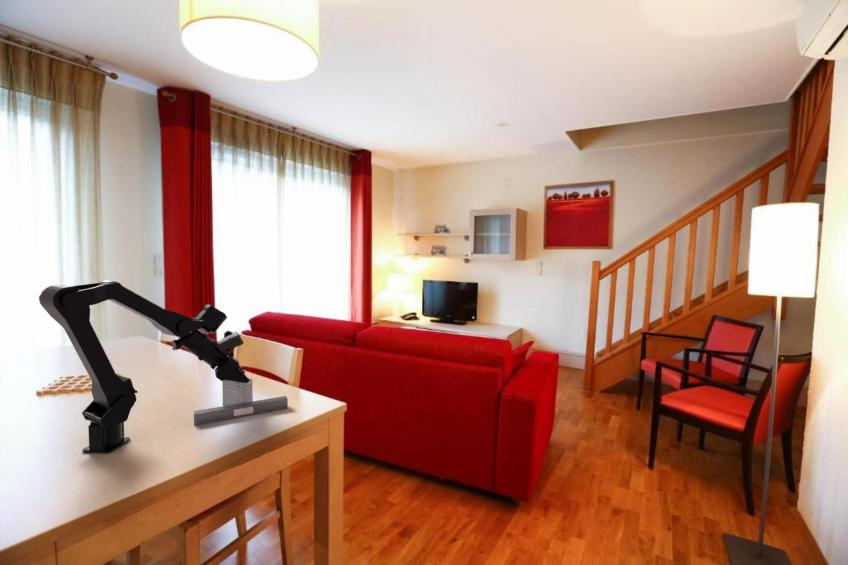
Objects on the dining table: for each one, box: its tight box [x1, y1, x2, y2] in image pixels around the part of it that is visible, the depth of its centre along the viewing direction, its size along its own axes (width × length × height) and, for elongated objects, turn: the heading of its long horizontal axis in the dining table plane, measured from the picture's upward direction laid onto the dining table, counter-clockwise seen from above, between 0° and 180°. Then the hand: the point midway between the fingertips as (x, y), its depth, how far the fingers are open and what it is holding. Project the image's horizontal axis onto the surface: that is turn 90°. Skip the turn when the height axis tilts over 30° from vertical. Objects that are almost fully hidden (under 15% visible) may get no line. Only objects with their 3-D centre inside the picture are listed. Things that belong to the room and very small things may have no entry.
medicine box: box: [221, 377, 254, 406], centre depth 117 cm, size 8×4×9 cm, turn 64°
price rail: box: [193, 395, 289, 426], centre depth 111 cm, size 24×3×3 cm, turn 123°
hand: (246, 377), depth 118 cm, fingers open, 7 cm apart
